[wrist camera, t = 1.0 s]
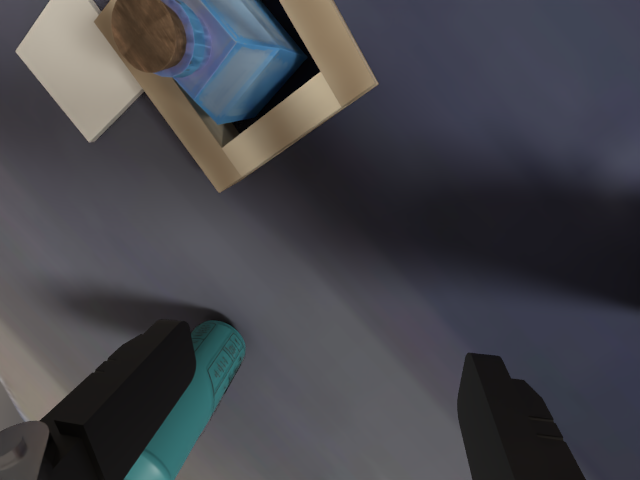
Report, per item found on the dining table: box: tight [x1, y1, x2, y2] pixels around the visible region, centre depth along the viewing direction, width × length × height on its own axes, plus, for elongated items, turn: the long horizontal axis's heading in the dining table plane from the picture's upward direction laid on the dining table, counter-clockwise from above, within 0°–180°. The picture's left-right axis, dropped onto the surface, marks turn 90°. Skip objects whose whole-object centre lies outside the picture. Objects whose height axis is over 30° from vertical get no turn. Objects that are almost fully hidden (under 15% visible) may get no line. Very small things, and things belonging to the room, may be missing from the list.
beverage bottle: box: [124, 320, 245, 480], centre depth 29 cm, size 6×7×20 cm
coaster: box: [15, 0, 144, 143], centre depth 28 cm, size 9×9×1 cm
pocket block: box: [94, 0, 379, 193], centre depth 23 cm, size 14×14×4 cm
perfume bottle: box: [111, 0, 308, 125], centre depth 20 cm, size 6×6×12 cm
